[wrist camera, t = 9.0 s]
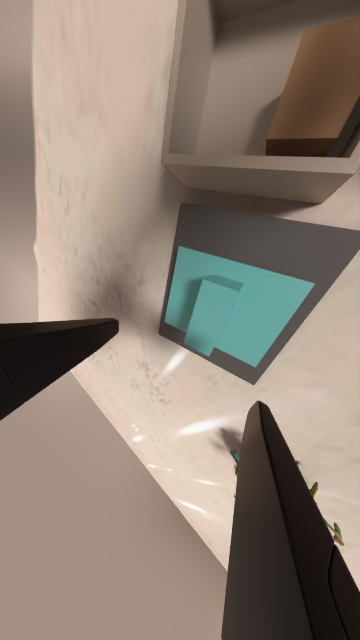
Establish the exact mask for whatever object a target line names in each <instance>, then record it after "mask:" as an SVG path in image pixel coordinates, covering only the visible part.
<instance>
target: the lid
mask: <svg viewBox="0 0 360 640" xmlns="http://www.w3.org/2000/svg"><path fill="white" fill-rule="evenodd" d="M314 285H315V283H313V282H310V281H306V280H303V279H299V278H295V277H292V276H288V275H284V274H281V273H277V272H274V271H270V270H266V269H263V268H259V267H255V266H252V265H248V264H244V263H241V262H237V261H233V260H230V259H226V258H223V257H219V256H215V255H212V254H208V253H204V252H201V251H197V250H193V249H190V248H186V247H182V246H179V248H178V254H177V259H176V264H175V269H174V274H173V280H172V285H171V290H170V295H169V300H168V306H167V311H166V316H165V321H164V322H166V323H168V324H170V325H172V326H174V327H176V328H178V329H180V330H182V331H184V332H186V337H185V340H184V344H186V345H188V346H190V347H192V348H193V349H195V350H197V351H199V352H201V353H203V354H205V355H207V356H208V357H209V356H210V354H211V353H212V351H213V349H214V347H216V348H218V349H220V350H222V351H224V352H226V353H228V354H230V355H232V356H234V357H236V358H238V359H240V360H242V361H244V362H246V363H248V364H250V365H252V366H254V367H256V366H257V364H258V363H259V362H260V360H261V359H262V358H263V356H264V355H265V353H266V352H267V351H268V349H269V348H270V346H271V345H272V344H273V342H274V341H275V339H276V338H277V337H278V335H279V334H280V332H281V331H282V330H283V328H284V327H285V325H286V324H287V323H288V321H289V320H290V318H291V317H292V316H293V314H294V313H295V311H296V310H297V309H298V307H299V306H300V304H301V303H302V302H303V300H304V299H305V297H306V296H307V295H308V293H309V292H310V290H311V289H312V288H313V286H314Z"/></svg>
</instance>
